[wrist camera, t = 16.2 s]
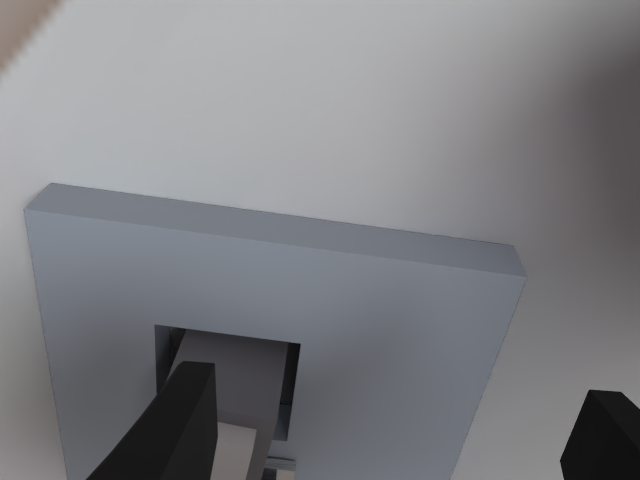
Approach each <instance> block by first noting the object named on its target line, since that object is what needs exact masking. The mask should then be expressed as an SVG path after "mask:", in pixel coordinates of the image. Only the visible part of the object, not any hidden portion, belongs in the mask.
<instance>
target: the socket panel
mask: <svg viewBox="0 0 640 480" xmlns="http://www.w3.org/2000/svg"><path fill="white" fill-rule="evenodd" d="M24 214H25V220H26V226H27V232H28V239H29V245H30V251H31V257H32V263H33V269H34V275H35V282H36V288H37V294H38V300H39V306H40V312H41V319H42V325H43V331H44V337H45V343H46V349H47V355H48V362H49V368H50V374H51V380H52V386H53V392H54V399H55V405H56V411H57V417H58V423H59V429H60V435H61V442H62V448H63V454H64V460H65V466H66V472H67V479H68V480H86V479H87V478H88V476H89V475H90V474H91V473H92V472H93V471H94V470H95V469H96V468H97V467H98V466H99V464H100V463H101V462H102V461H103V460H104V459H105V458H106V457H107V456H108V455H109V453H110V452H111V451H112V450H113V449H114V448H115V446H116V445H117V444H118V443H119V442H120V440H121V439H122V438H123V437H124V436H125V434H126V433H127V432H128V431H129V429H130V428H131V427H132V426H133V425H134V423H135V422H136V421H137V420H138V419H139V417H140V416H141V415H142V413H143V412H144V411H145V410H146V408H147V407H148V406H149V404H150V403H151V402H152V401H153V399H154V398H155V397H156V395H157V394H158V393H159V391H160V390H161V388H162V387H163V386H164V384H165V383H166V380H167V378H168V375H169V373H170V326H171V327H178V328H186V329H193V330H201V331H208V332H216V333H224V334H231V335H239V336H246V337H254V338H262V339H269V340H277V341H284V342H292V343H299V344H300V350H299V357H298V364H297V371H296V378H295V385H294V392H293V399H292V405H284V404H279V411H278V418H277V423H276V427H275V430H274V434H273V438H272V441H271V445H270V449H269V452H268V456H267V458H272V459H280V460H287V461H295V462H296V466H295V474H294V480H450V478H451V475H452V473H453V470H454V468H455V465H456V462H457V460H458V457H459V455H460V452H461V449H462V447H463V444H464V441H465V439H466V436H467V434H468V431H469V428H470V426H471V423H472V421H473V418H474V415H475V413H476V410H477V408H478V405H479V402H480V400H481V397H482V394H483V392H484V389H485V387H486V384H487V381H488V379H489V376H490V374H491V371H492V368H493V366H494V363H495V361H496V358H497V355H498V353H499V350H500V347H501V345H502V342H503V340H504V337H505V334H506V332H507V329H508V327H509V324H510V321H511V319H512V316H513V313H514V311H515V308H516V306H517V303H518V300H519V298H520V295H521V293H522V290H523V287H524V285H525V282H526V280H527V275H526V273H525V270H524V268H523V266H522V264H521V261H520V259H519V257H518V255H517V252H516V250H515V248H514V246H510V245H503V244H496V243H488V242H481V241H474V240H466V239H459V238H452V237H444V236H437V235H429V234H422V233H415V232H407V231H400V230H393V229H385V228H378V227H371V226H363V225H356V224H349V223H341V222H334V221H327V220H319V219H312V218H305V217H297V216H290V215H282V214H275V213H268V212H260V211H253V210H246V209H238V208H231V207H224V206H216V205H209V204H202V203H194V202H187V201H180V200H172V199H165V198H157V197H150V196H143V195H135V194H128V193H121V192H113V191H106V190H99V189H91V188H84V187H77V186H69V185H62V184H55V183H50V184H49V185H48V186H47V187H46V188H45V189H44V190H43V191H42V192H41V193H40V194H39V195H38V196H37V197H36V198H35V199H34V200H33V201H32V202H31V203H29V204H28V205H27V206H26V207H25V208H24Z"/></svg>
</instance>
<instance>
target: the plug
mask: <svg viewBox="0 0 640 480" xmlns="http://www.w3.org/2000/svg"><path fill="white" fill-rule="evenodd" d="M288 343H289V342H284V341H277V340H269V339H262V338H254V337H246V336H239V335H231V334H224V333H216V332H208V331H201V330H193V329H186V331H185V334H184V336H183V339H182V341H181V344H180V347H179V349H178V352H177V354H176V357H175V360H174V362H173V365H172V367H171V370H170V373H169V375H168V378H167V380H168V379H169V377H170V376H171V374H172V373H173V371H174V370H175V368H176V367H177V365H178V364H180V363H181V362H183V361H194V362H208V363H215V376H216V399H217V422H218V440H217V445H216V451H215V457H214V462H213V468H212V473H211V478H210V480H261V478H262V474H263V471H264V467H265V463H266V460H267V456H268V452H269V449H270V445H271V441H272V438H273V434H274V430H275V427H276V423H277V418H278V411H279V404H280V397H281V391H282V384H283V377H284V370H285V363H286V357H287V350H288ZM167 380H166V381H167Z"/></svg>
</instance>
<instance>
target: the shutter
mask: <svg viewBox="0 0 640 480" xmlns="http://www.w3.org/2000/svg"><path fill="white" fill-rule="evenodd" d="M295 466H296V462H295V461H287V460H280V459H272V458H267V460H266V463H265V467H264V471H263V474H262V478H261V480H294V474H295Z"/></svg>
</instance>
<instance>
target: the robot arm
mask: <svg viewBox="0 0 640 480" xmlns="http://www.w3.org/2000/svg"><path fill="white" fill-rule="evenodd" d="M217 440H218V422H217V399H216V376H215V363H208V362H194V361H183V362H181V363H180V364H178V365H177V367H176V368H175V370H174V371H173V373H172V374H171V376H170V377H169V379H168V380H167V381H166V383H165V384H164V386H163V387H162V388H161V390H160V391H159V393H158V394H157V395H156V397H155V398H154V399H153V401H152V402H151V403H150V404H149V406H148V407H147V408H146V410H145V411H144V412H143V413H142V415H141V416H140V417H139V419H138V420H137V421H136V422H135V423H134V425H133V426H132V427H131V428H130V429H129V431H128V432H127V433H126V434H125V436H124V437H123V438H122V439H121V440H120V442H119V443H118V444H117V445H116V446H115V448H114V449H113V450H112V451H111V452H110V453H109V455H108V456H107V457H106V458H105V459H104V460H103V461H102V462H101V463H100V464H99V466H98V467H97V468H96V469H95V470H94V471H93V472H92V473H91V474H90V475H89V476H88V478H87V479H86V480H210V478H211V473H212V468H213V462H214V457H215V451H216V445H217ZM560 463H561V468H562V472H563V477H564V480H640V409H639V408H638V407H637V406H636V405H635V404H634V403H632V402H631V401H630V400H629V399H628V398H627V397H626V396H625V395H624V394H623V393H622V392H615V391H601V390H589V391H588V394H587V396H586V398H585V401H584V403H583V406H582V408H581V411H580V413H579V415H578V418H577V420H576V423H575V425H574V428H573V430H572V432H571V435H570V437H569V440H568V442H567V444H566V447H565V449H564V452H563V454H562V457H561V459H560Z"/></svg>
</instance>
